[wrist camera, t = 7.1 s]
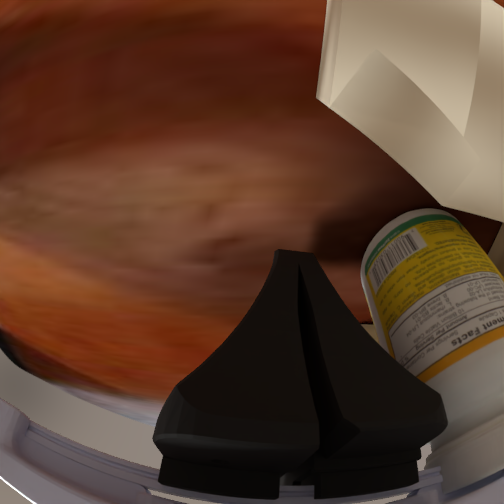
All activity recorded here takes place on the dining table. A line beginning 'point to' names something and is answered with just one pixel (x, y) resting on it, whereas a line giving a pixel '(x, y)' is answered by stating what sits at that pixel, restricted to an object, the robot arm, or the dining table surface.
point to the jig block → (425, 94)
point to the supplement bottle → (444, 332)
